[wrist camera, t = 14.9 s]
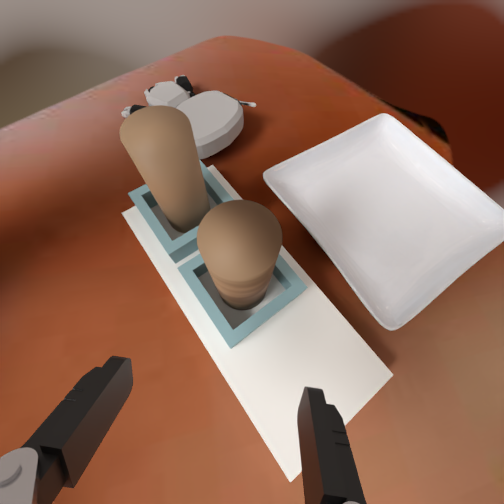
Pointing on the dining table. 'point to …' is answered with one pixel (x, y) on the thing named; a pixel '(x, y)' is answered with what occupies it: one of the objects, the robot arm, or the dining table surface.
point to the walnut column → (240, 250)
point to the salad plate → (389, 215)
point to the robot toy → (200, 113)
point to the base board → (242, 321)
